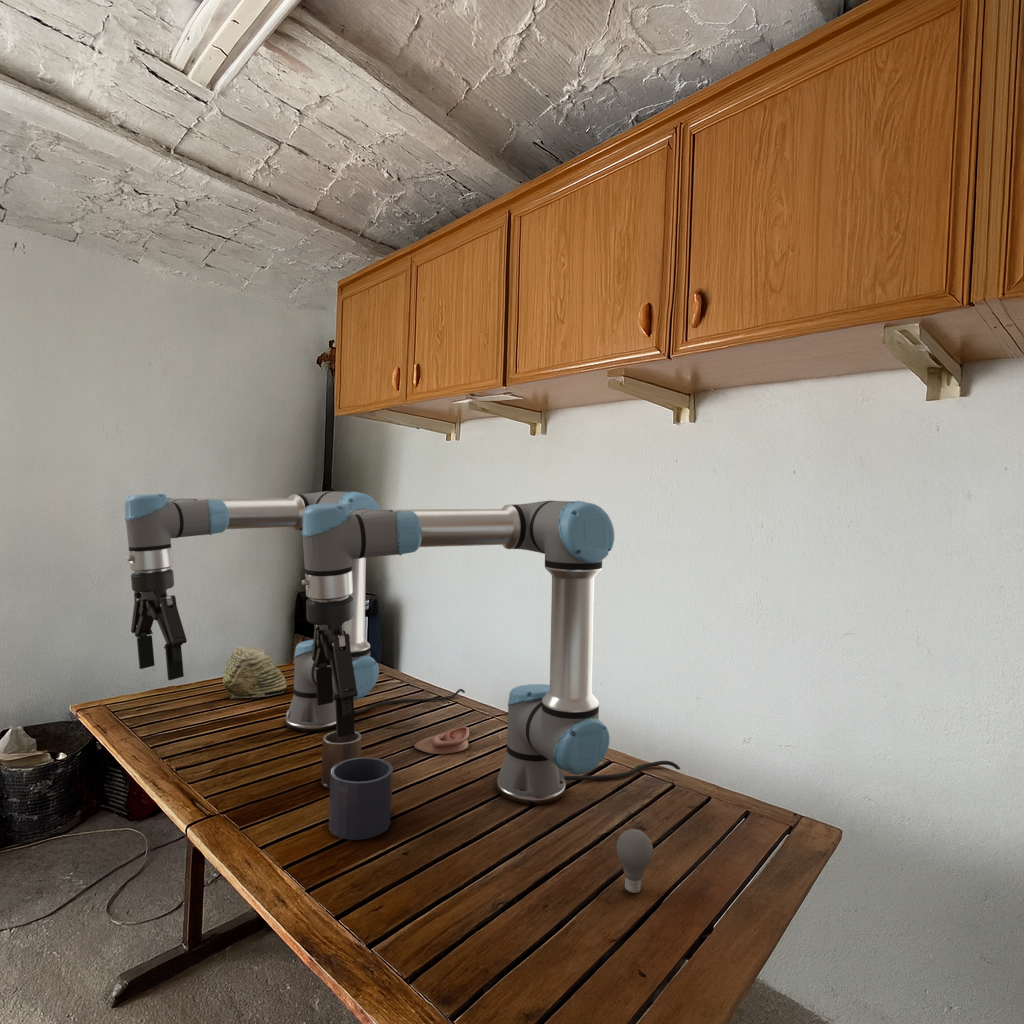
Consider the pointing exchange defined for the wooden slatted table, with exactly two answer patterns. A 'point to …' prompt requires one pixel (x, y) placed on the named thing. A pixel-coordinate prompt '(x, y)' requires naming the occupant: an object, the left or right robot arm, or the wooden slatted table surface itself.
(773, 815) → the wooden slatted table surface
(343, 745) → the cup
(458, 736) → the anatomical model
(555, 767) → the right robot arm
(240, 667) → the fossil
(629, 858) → the light bulb
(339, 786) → the tub
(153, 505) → the left robot arm
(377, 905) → the wooden slatted table surface
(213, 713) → the wooden slatted table surface
